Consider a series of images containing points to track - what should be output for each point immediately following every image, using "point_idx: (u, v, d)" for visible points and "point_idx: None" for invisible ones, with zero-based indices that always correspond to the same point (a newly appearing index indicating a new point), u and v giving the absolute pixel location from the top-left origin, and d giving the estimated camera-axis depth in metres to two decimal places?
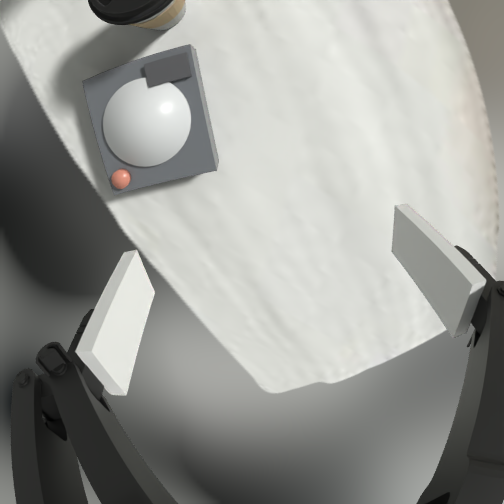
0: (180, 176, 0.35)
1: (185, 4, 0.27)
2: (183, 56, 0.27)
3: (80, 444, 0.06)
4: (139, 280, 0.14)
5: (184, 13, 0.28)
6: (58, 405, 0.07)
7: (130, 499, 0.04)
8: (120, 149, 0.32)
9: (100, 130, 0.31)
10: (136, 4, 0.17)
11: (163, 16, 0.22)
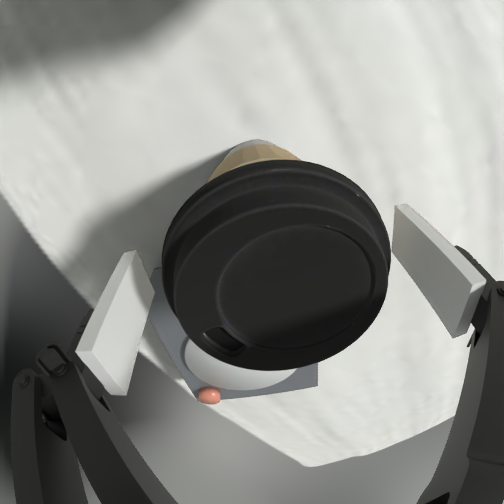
0: (278, 391, 0.31)
1: None
2: None
3: (80, 444, 0.06)
4: (139, 280, 0.14)
5: None
6: (58, 405, 0.07)
7: (130, 499, 0.04)
8: (210, 378, 0.28)
9: (179, 357, 0.27)
10: (300, 362, 0.12)
11: None
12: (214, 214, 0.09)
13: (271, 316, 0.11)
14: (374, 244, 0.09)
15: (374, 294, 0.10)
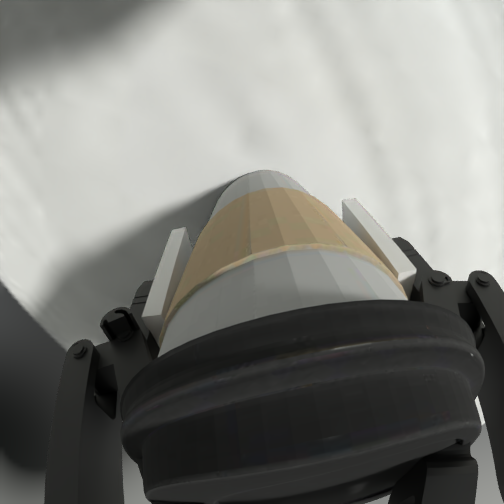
0: None
1: None
2: None
3: None
4: (188, 255, 0.15)
5: None
6: (116, 372, 0.08)
7: None
8: None
9: None
10: None
11: None
12: (199, 431, 0.04)
13: (297, 503, 0.05)
14: (476, 432, 0.04)
15: None
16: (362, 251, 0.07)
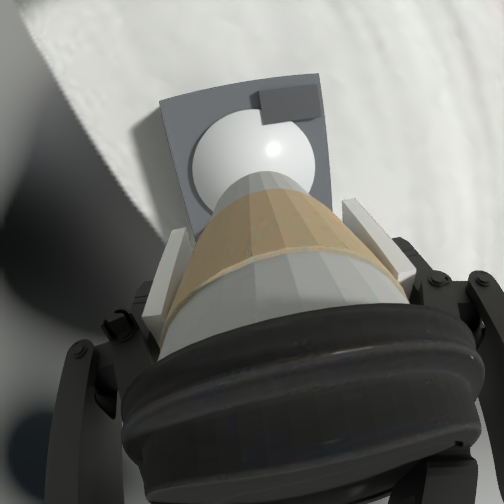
0: None
1: None
2: (313, 89, 0.22)
3: None
4: (189, 255, 0.15)
5: None
6: (116, 372, 0.08)
7: None
8: (217, 201, 0.27)
9: (186, 173, 0.26)
10: None
11: None
12: (200, 434, 0.04)
13: None
14: (476, 434, 0.04)
15: None
16: (362, 253, 0.07)
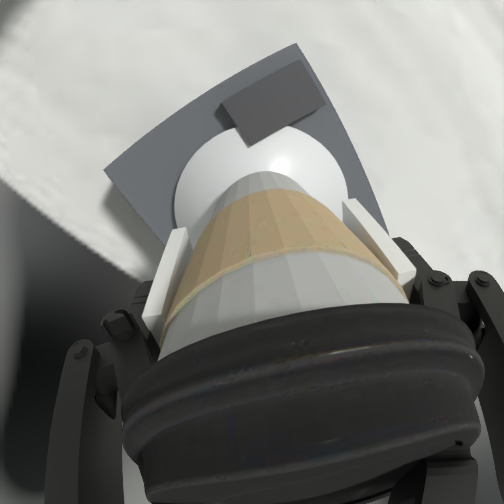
0: None
1: None
2: (298, 67, 0.14)
3: None
4: (188, 255, 0.15)
5: None
6: (116, 372, 0.08)
7: None
8: None
9: None
10: None
11: None
12: (199, 433, 0.04)
13: (297, 503, 0.05)
14: (475, 433, 0.04)
15: None
16: (361, 253, 0.07)
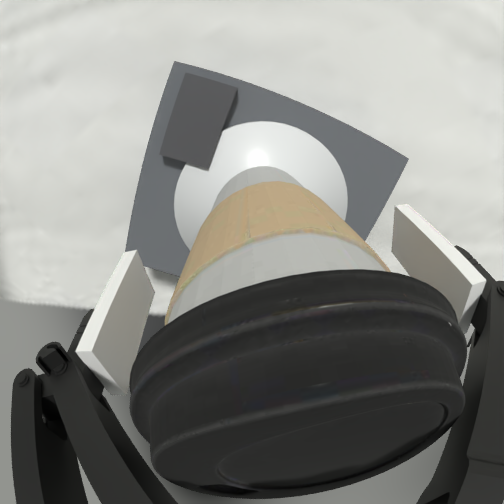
0: (377, 213, 0.20)
1: None
2: (190, 80, 0.14)
3: (80, 444, 0.06)
4: (139, 280, 0.14)
5: None
6: (58, 405, 0.07)
7: (130, 499, 0.04)
8: None
9: None
10: (324, 490, 0.08)
11: None
12: (205, 385, 0.05)
13: (294, 473, 0.06)
14: (460, 399, 0.05)
15: (435, 434, 0.06)
16: (350, 236, 0.08)
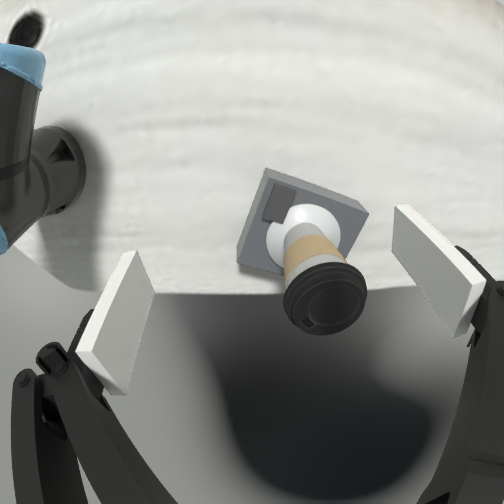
0: (354, 238, 0.44)
1: None
2: (277, 188, 0.39)
3: (80, 444, 0.06)
4: (139, 280, 0.14)
5: None
6: (58, 405, 0.07)
7: (130, 499, 0.04)
8: None
9: (282, 270, 0.46)
10: (334, 331, 0.32)
11: None
12: (309, 281, 0.29)
13: (325, 313, 0.31)
14: (359, 288, 0.29)
15: (360, 304, 0.30)
16: (335, 254, 0.33)
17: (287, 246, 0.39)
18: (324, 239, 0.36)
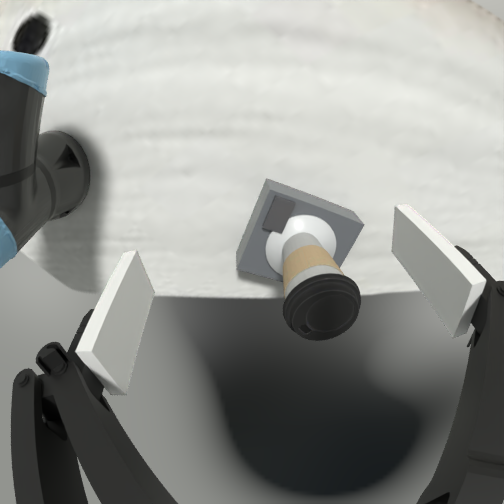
0: (349, 248, 0.46)
1: None
2: (277, 200, 0.41)
3: (80, 444, 0.06)
4: (139, 280, 0.14)
5: None
6: (58, 405, 0.07)
7: (130, 499, 0.04)
8: None
9: (280, 276, 0.49)
10: (329, 336, 0.34)
11: None
12: (308, 291, 0.31)
13: (321, 320, 0.33)
14: (353, 298, 0.31)
15: (354, 312, 0.32)
16: (332, 265, 0.35)
17: (286, 255, 0.41)
18: (321, 250, 0.38)
